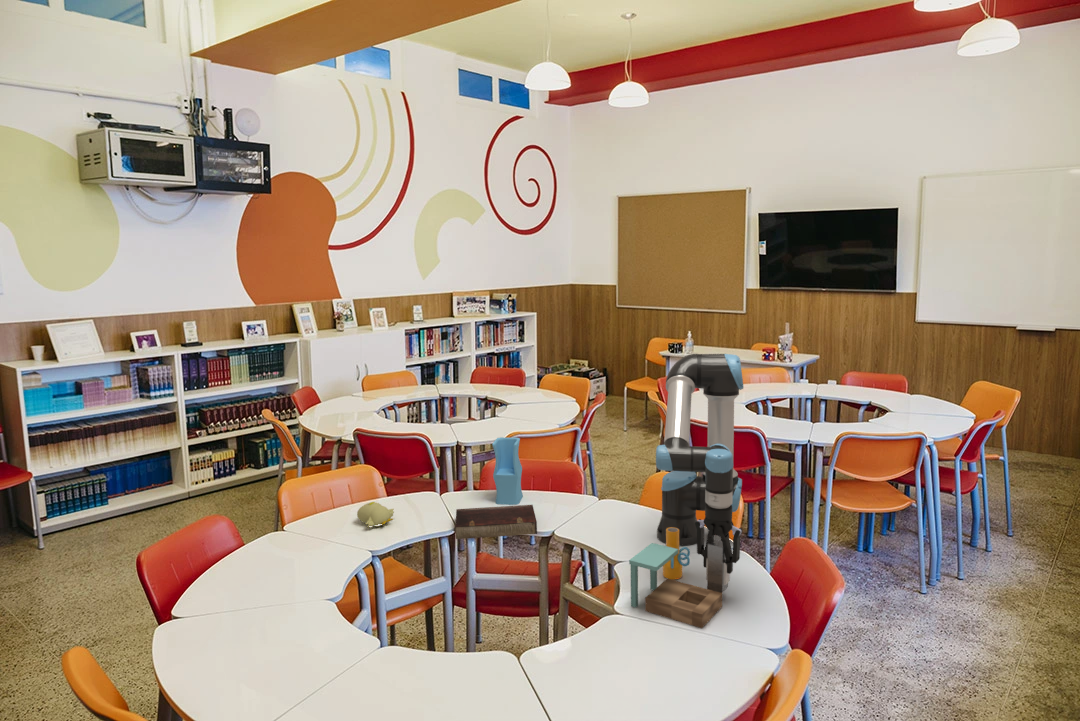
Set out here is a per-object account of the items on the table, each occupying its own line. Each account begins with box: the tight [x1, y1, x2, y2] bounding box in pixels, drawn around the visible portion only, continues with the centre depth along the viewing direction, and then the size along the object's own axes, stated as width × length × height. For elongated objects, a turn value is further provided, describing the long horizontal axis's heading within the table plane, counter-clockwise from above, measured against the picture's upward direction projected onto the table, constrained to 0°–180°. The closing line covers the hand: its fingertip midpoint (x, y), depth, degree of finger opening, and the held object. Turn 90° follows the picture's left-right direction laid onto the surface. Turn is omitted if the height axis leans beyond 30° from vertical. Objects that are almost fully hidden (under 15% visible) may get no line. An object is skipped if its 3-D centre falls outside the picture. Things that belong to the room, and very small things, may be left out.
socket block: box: [644, 578, 723, 629], centre depth 204 cm, size 14×17×4 cm
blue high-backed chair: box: [492, 436, 524, 506], centre depth 292 cm, size 10×10×25 cm
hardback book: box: [454, 504, 538, 540], centre depth 267 cm, size 29×19×5 cm, turn 95°
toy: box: [356, 501, 395, 528], centre depth 273 cm, size 15×9×15 cm
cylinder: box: [662, 527, 691, 581], centre depth 223 cm, size 12×10×15 cm
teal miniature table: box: [628, 542, 678, 608], centre depth 208 cm, size 14×8×14 cm, turn 144°
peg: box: [706, 537, 729, 594], centre depth 208 cm, size 4×4×14 cm
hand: (717, 580), depth 209 cm, fingers closed on peg, 4 cm apart
